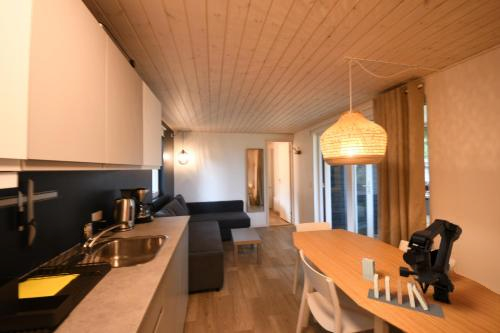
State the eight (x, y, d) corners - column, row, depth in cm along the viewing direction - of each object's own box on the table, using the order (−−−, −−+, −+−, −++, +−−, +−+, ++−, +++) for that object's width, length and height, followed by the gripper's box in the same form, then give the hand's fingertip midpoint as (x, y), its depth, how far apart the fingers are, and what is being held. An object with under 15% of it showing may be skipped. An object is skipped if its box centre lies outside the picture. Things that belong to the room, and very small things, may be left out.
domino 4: (410, 301, 106) (406, 280, 107) (414, 301, 105) (410, 280, 106) (411, 306, 102) (407, 285, 103) (415, 307, 101) (411, 285, 102)
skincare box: (376, 279, 128) (375, 259, 128) (374, 283, 125) (373, 262, 125) (364, 276, 132) (363, 256, 132) (362, 279, 129) (361, 259, 129)
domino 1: (375, 292, 115) (374, 273, 115) (379, 293, 114) (378, 274, 114) (374, 297, 111) (373, 277, 111) (378, 298, 110) (377, 278, 110)
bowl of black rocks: (399, 273, 134) (398, 243, 134) (420, 266, 141) (419, 238, 142) (436, 289, 116) (435, 254, 116) (458, 281, 123) (457, 248, 123)
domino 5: (423, 304, 104) (411, 283, 106) (427, 303, 103) (414, 282, 105) (424, 310, 99) (411, 288, 102) (428, 309, 99) (415, 287, 101)
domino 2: (386, 295, 112) (385, 275, 112) (390, 296, 111) (389, 276, 111) (386, 300, 108) (385, 280, 108) (390, 301, 107) (389, 281, 107)
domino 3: (398, 297, 109) (397, 278, 109) (401, 298, 108) (401, 279, 108) (398, 303, 105) (397, 282, 105) (402, 304, 104) (401, 283, 104)
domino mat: (369, 289, 119) (369, 288, 119) (441, 307, 102) (441, 306, 102) (367, 298, 110) (367, 297, 110) (445, 319, 94) (445, 318, 94)
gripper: (399, 263, 100) (400, 296, 100) (453, 272, 90) (455, 309, 89) (398, 254, 109) (399, 285, 109) (447, 262, 99) (449, 296, 99)
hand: (424, 293), depth 101 cm, fingers closed
